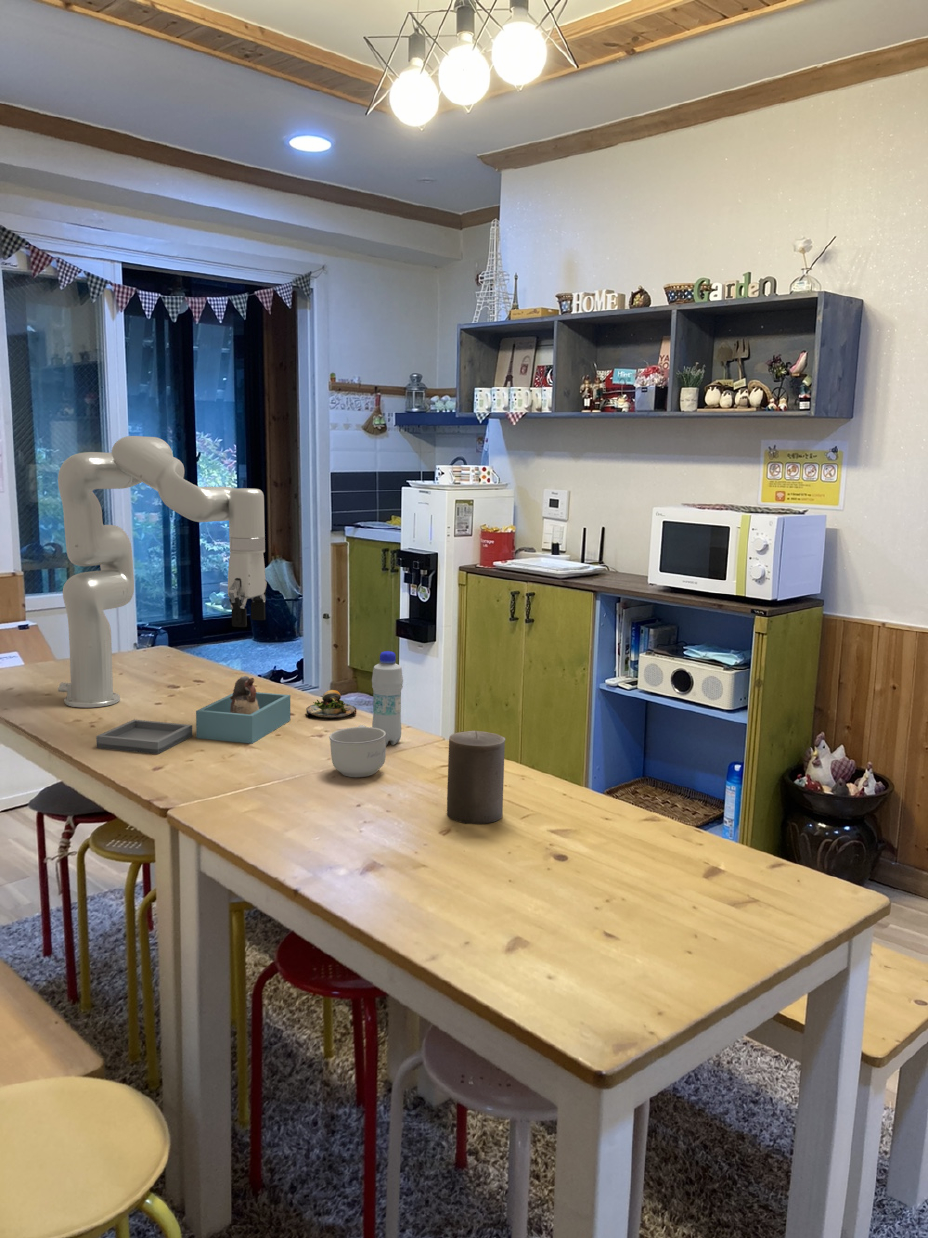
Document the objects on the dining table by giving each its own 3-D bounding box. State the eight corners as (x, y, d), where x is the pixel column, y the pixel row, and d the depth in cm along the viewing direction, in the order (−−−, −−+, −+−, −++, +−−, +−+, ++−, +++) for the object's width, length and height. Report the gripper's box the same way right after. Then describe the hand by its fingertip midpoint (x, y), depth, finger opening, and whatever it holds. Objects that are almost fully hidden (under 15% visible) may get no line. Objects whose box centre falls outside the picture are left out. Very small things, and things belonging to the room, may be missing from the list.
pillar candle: (455, 826, 166) (457, 739, 163) (440, 806, 175) (442, 724, 173) (510, 822, 168) (513, 737, 166) (493, 803, 178) (496, 722, 175)
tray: (96, 747, 204) (96, 736, 204) (134, 730, 217) (133, 719, 217) (158, 754, 201) (157, 742, 200) (192, 736, 214) (192, 725, 214)
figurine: (247, 723, 226) (247, 671, 224) (268, 729, 222) (267, 676, 220) (222, 729, 221) (221, 676, 219) (242, 735, 216) (241, 681, 214)
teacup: (376, 784, 186) (376, 742, 185) (321, 778, 189) (321, 738, 187) (396, 762, 200) (396, 724, 199) (344, 758, 202) (344, 719, 201)
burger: (297, 719, 231) (297, 688, 230) (317, 707, 243) (317, 678, 242) (346, 724, 229) (346, 692, 227) (363, 711, 240) (363, 681, 239)
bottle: (400, 747, 210) (402, 654, 207) (369, 746, 210) (370, 653, 207) (403, 738, 217) (404, 648, 214) (372, 737, 217) (373, 647, 214)
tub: (196, 738, 213) (195, 710, 212) (238, 715, 232) (238, 690, 231) (252, 743, 210) (252, 716, 209) (290, 720, 229) (290, 695, 228)
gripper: (248, 542, 225) (249, 617, 228) (213, 548, 208) (215, 628, 211) (279, 543, 224) (280, 618, 226) (246, 549, 207) (248, 630, 209)
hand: (249, 623), depth 219 cm, fingers open, 9 cm apart
